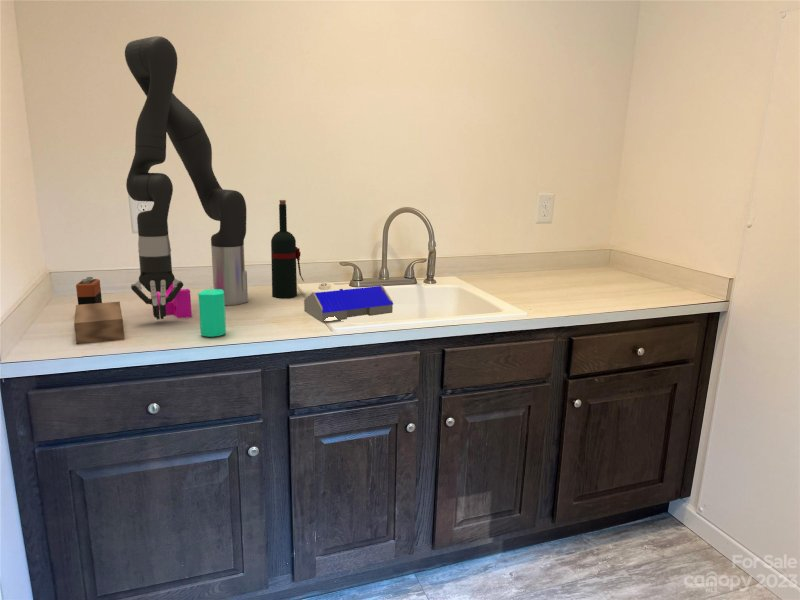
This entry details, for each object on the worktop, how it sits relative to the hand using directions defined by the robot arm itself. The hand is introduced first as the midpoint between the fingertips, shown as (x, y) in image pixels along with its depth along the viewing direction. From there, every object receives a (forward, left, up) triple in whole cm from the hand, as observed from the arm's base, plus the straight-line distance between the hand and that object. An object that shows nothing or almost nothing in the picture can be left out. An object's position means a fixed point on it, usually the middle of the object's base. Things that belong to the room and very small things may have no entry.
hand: (159, 318), depth 152 cm
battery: (+16, -15, -1) cm, 22 cm away
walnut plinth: (+14, +3, -1) cm, 14 cm away
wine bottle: (-39, -16, -1) cm, 42 cm away
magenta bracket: (-4, -10, -2) cm, 11 cm away
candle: (-11, +15, -1) cm, 18 cm away
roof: (-50, +9, -2) cm, 50 cm away
